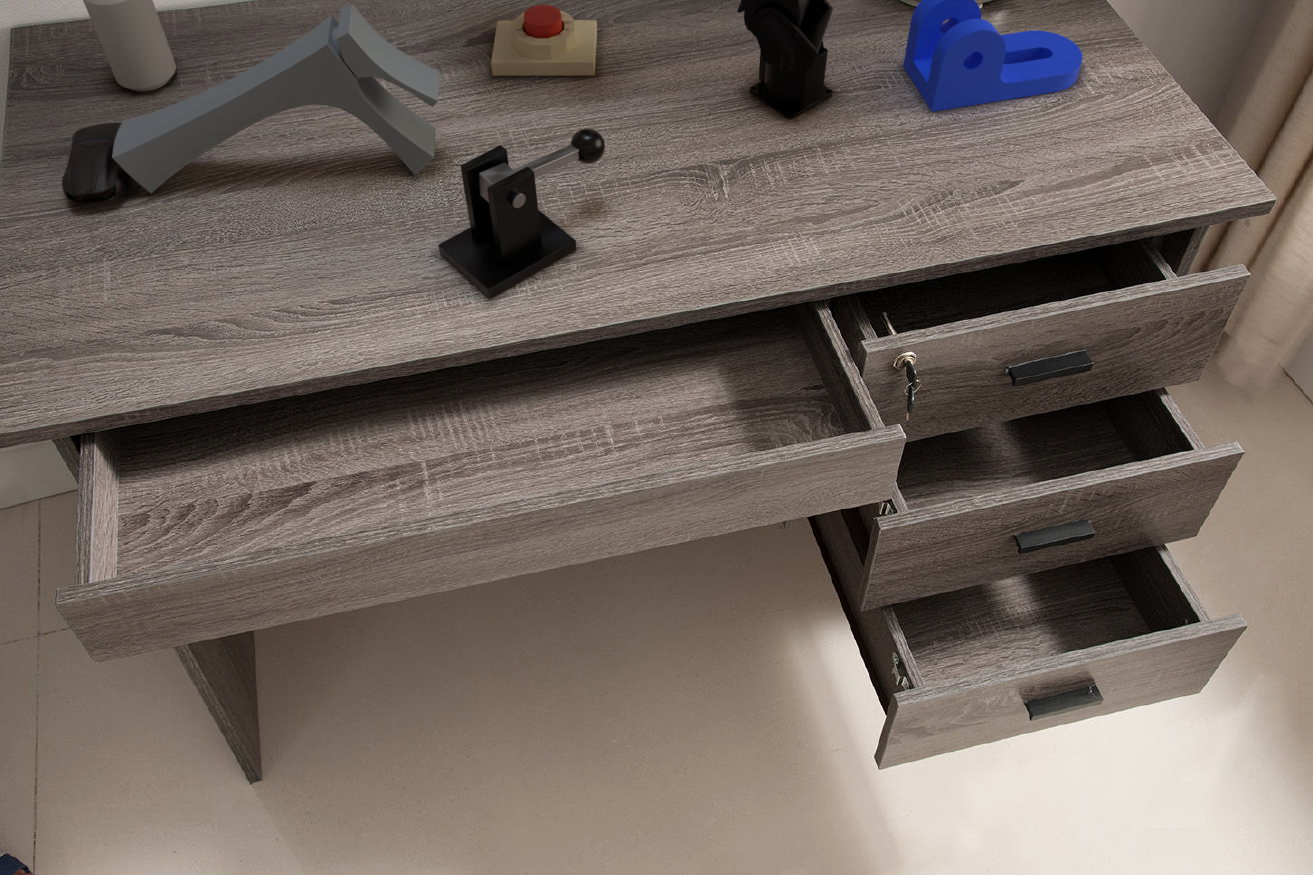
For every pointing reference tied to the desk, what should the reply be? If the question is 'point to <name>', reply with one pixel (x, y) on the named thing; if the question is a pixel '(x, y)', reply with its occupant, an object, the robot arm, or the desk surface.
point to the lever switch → (503, 229)
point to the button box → (545, 49)
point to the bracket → (982, 58)
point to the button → (542, 21)
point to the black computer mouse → (94, 167)
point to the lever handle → (550, 159)
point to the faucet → (291, 100)
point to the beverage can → (133, 42)
